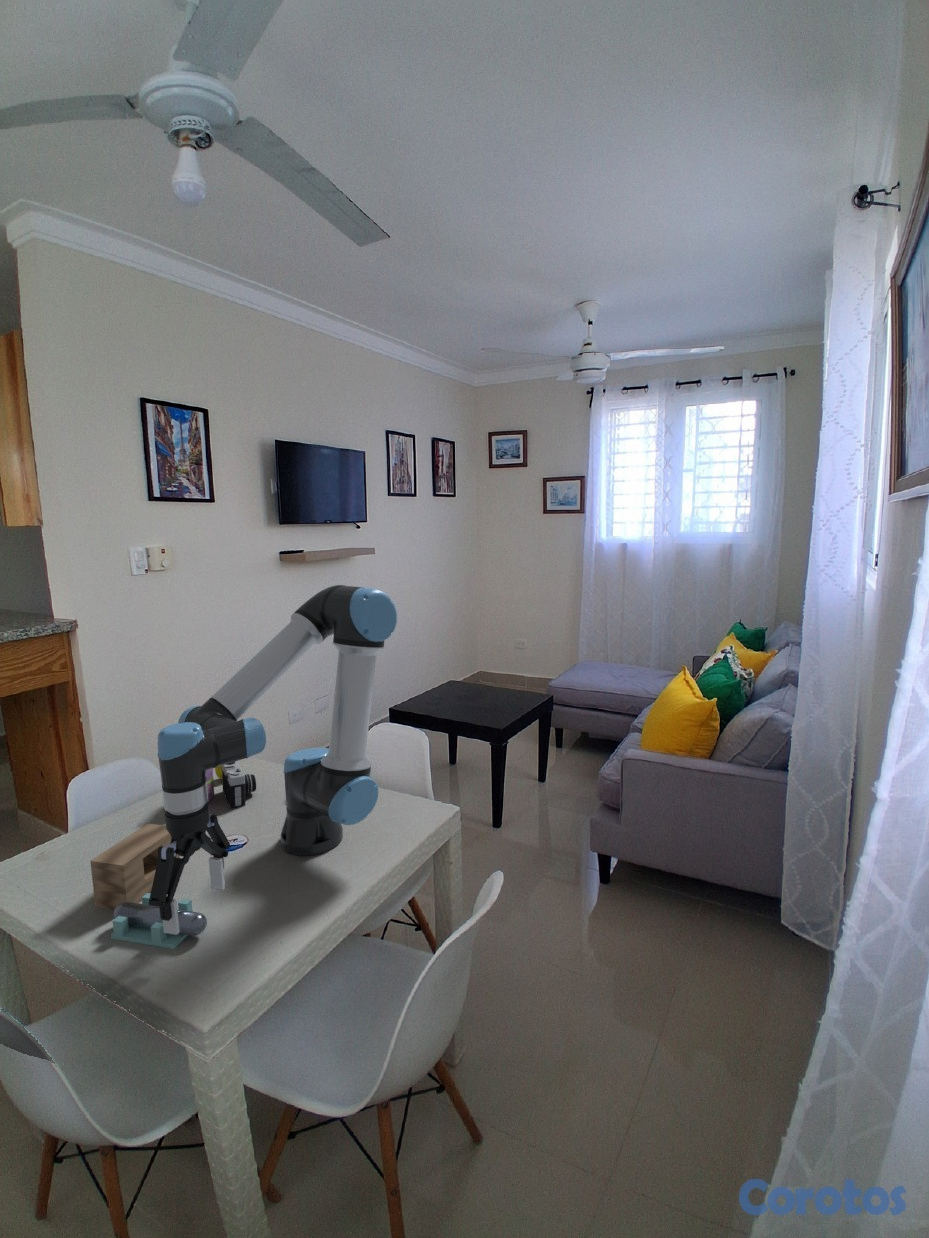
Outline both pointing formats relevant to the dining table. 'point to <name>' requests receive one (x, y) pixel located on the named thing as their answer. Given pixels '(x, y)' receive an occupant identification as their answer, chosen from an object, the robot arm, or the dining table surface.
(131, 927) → the cradle
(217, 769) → the lemon
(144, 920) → the axle
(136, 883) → the beam
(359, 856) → the dining table surface
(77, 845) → the dining table surface
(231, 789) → the camera
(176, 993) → the dining table surface
